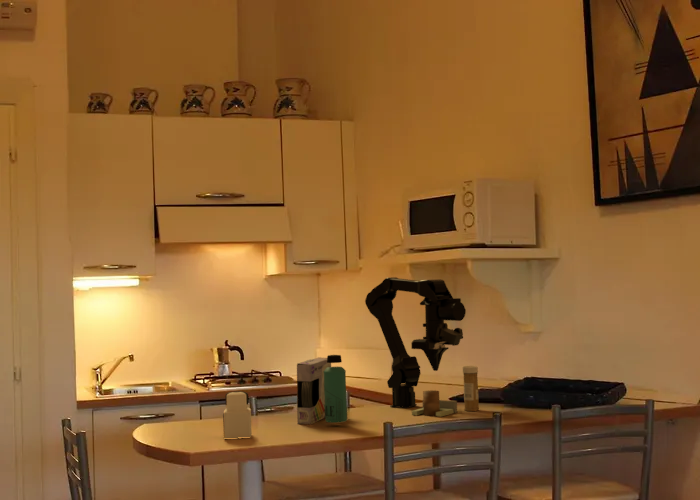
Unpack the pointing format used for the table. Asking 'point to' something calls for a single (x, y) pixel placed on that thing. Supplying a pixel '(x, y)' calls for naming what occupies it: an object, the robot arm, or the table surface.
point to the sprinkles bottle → (471, 388)
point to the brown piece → (431, 402)
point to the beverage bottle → (335, 391)
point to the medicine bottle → (237, 415)
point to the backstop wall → (448, 405)
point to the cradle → (439, 414)
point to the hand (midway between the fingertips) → (435, 370)
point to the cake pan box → (311, 390)
